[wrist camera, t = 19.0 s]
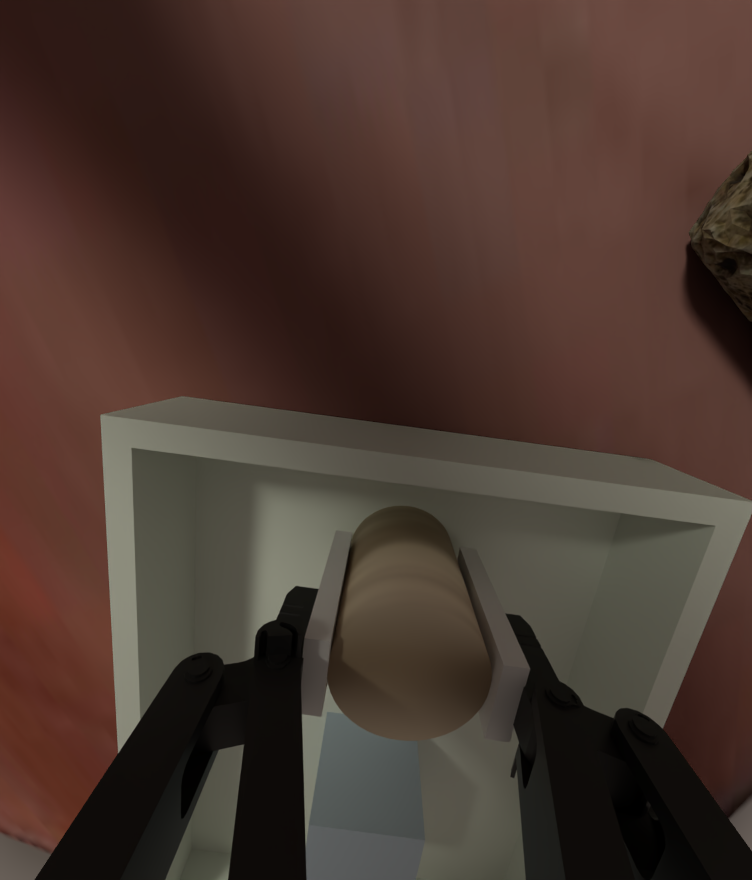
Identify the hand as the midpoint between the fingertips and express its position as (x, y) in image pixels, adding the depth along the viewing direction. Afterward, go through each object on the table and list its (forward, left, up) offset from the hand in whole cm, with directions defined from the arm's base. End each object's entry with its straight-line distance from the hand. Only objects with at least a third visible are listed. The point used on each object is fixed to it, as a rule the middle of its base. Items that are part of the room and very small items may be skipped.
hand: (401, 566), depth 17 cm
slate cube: (0, -13, -1) cm, 13 cm away
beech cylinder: (0, 0, -1) cm, 1 cm away
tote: (0, -9, -2) cm, 9 cm away
